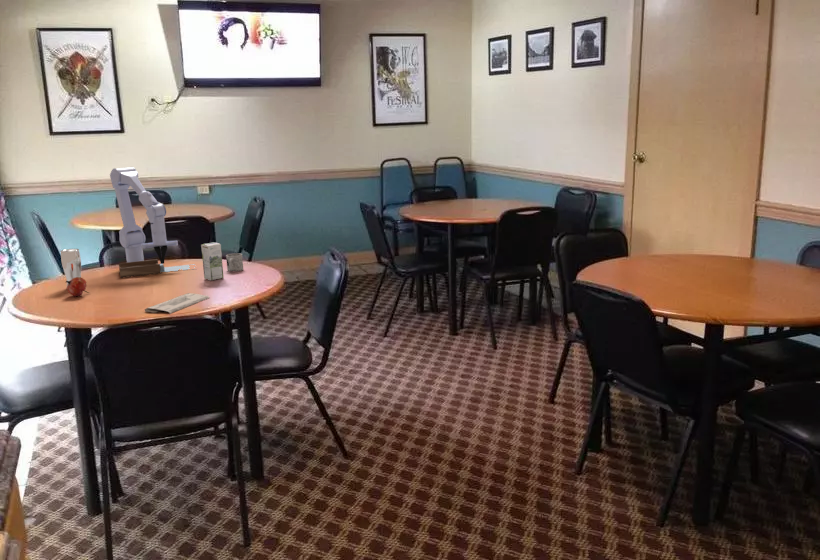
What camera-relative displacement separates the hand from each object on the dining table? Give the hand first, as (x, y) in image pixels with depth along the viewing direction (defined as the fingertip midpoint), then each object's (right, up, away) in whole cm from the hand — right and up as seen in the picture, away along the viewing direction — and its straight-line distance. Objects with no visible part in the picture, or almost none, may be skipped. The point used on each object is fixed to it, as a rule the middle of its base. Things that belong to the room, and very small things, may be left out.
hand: (162, 263), depth 309 cm
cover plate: (+6, -3, +3) cm, 7 cm away
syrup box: (+28, -7, -21) cm, 36 cm away
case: (-9, -4, -3) cm, 10 cm away
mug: (+33, -4, -6) cm, 34 cm away
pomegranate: (-17, -13, -40) cm, 46 cm away
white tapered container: (-26, -10, -26) cm, 38 cm away
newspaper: (+26, -17, -60) cm, 67 cm away
